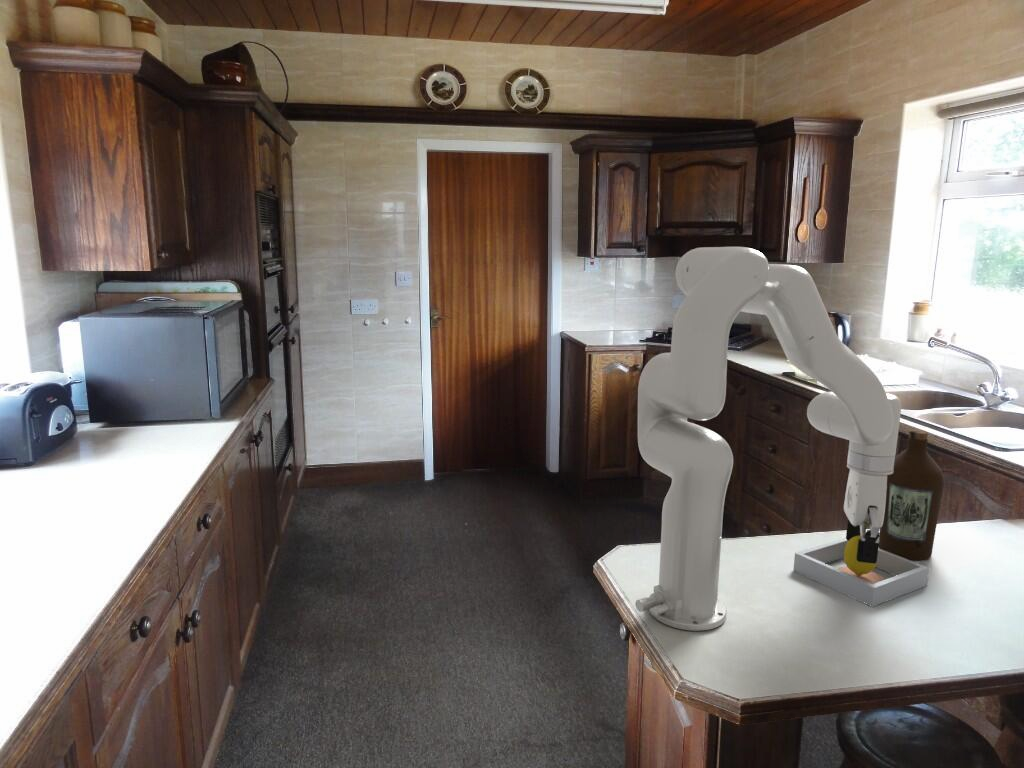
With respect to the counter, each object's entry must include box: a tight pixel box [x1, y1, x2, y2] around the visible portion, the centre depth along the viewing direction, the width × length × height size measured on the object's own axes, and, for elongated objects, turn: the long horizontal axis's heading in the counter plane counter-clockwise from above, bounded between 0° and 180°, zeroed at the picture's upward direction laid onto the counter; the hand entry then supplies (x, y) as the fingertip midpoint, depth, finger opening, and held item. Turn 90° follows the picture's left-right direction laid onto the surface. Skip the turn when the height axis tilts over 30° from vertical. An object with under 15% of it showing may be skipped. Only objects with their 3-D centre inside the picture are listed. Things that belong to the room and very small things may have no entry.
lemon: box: [843, 536, 878, 576], centre depth 129 cm, size 6×6×8 cm
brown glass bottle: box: [878, 429, 945, 562], centre depth 140 cm, size 11×11×25 cm
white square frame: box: [793, 537, 930, 607], centre depth 130 cm, size 16×16×4 cm
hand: (860, 551), depth 129 cm, fingers open, 9 cm apart
